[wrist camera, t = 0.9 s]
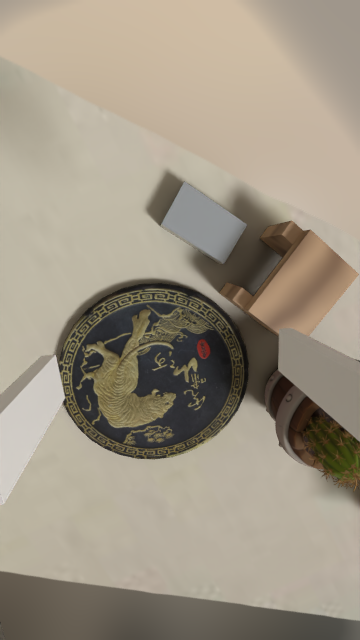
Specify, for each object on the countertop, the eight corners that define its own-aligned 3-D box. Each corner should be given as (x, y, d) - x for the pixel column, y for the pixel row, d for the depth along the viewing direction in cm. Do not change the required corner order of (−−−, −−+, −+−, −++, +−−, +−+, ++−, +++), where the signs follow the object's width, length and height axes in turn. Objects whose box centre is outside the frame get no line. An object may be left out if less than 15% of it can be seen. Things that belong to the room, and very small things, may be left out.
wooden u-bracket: (218, 293, 39) (236, 302, 31) (268, 226, 38) (298, 218, 30) (270, 331, 42) (298, 348, 34) (318, 270, 40) (359, 274, 32)
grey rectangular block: (160, 226, 36) (161, 224, 33) (181, 187, 35) (184, 181, 32) (218, 263, 38) (224, 263, 36) (239, 227, 38) (247, 224, 35)
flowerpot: (341, 350, 44) (490, 422, 25) (317, 427, 48) (432, 543, 28) (262, 341, 42) (359, 413, 23) (243, 423, 45) (314, 545, 26)
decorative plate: (242, 269, 37) (256, 442, 45) (238, 268, 39) (251, 435, 47) (31, 301, 35) (82, 477, 43) (37, 299, 37) (85, 468, 44)
